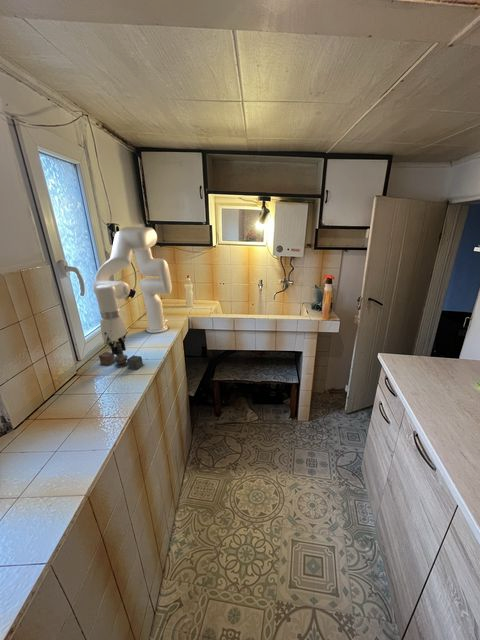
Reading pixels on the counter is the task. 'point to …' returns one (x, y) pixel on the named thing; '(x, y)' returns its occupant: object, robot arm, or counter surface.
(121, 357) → the stone chess piece
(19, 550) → the counter surface
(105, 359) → the walnut block
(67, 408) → the counter surface
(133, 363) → the slate block
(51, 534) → the counter surface
